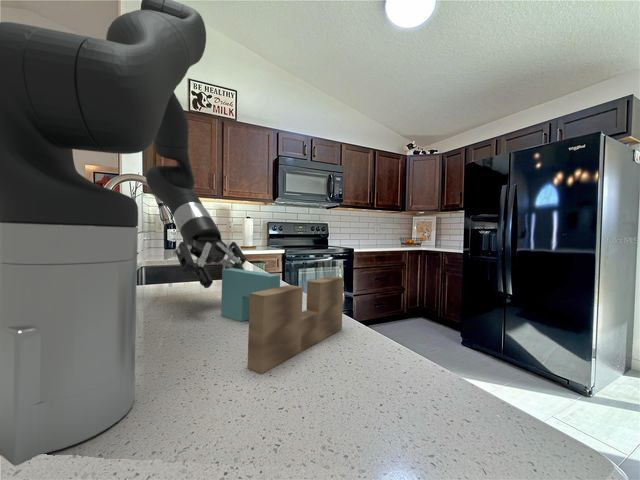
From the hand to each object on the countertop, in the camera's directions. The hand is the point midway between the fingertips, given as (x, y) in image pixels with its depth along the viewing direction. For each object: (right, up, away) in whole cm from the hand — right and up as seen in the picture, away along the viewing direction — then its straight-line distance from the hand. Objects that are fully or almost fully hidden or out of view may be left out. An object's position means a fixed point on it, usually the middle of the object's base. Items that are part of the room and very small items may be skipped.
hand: (227, 282), depth 56 cm
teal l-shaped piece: (+5, -7, -3) cm, 9 cm away
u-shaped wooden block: (+17, -7, -14) cm, 23 cm away
